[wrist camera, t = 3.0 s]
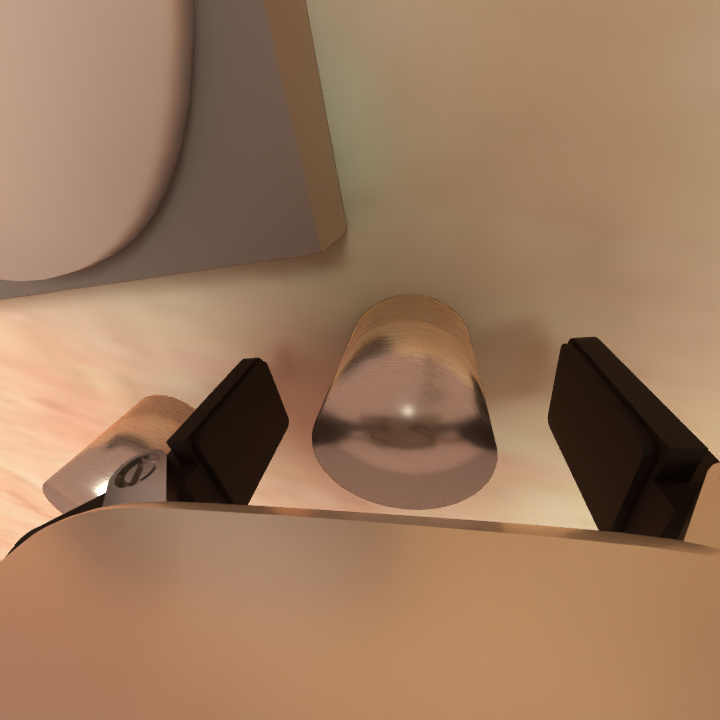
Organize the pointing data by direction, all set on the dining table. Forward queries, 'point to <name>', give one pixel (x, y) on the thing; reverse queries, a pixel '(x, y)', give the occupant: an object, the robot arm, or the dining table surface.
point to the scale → (158, 140)
